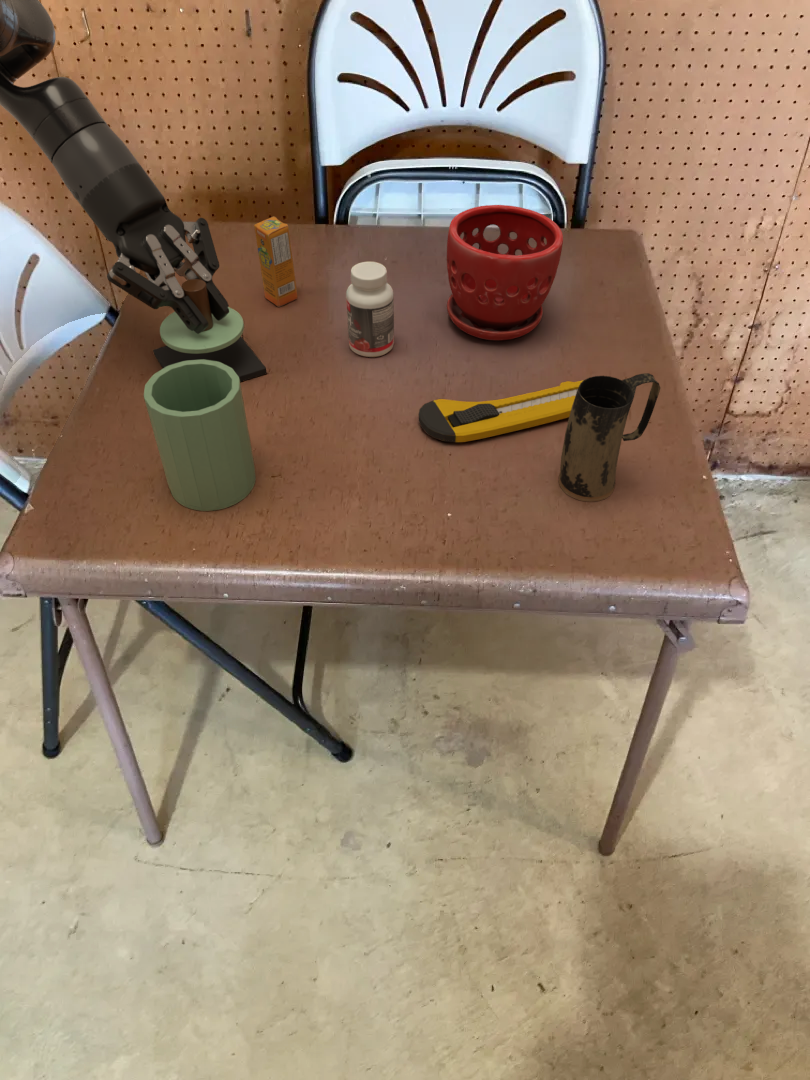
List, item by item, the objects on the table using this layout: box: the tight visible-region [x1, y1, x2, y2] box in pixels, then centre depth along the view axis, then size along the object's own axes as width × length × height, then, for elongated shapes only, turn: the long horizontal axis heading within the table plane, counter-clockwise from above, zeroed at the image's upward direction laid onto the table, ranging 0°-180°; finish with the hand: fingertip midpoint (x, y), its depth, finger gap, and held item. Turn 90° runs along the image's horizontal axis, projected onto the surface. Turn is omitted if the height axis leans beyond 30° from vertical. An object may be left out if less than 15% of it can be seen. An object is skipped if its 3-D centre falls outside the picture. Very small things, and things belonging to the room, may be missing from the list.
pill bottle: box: [345, 261, 395, 358], centre depth 96 cm, size 5×5×10 cm
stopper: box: [159, 279, 245, 354], centre depth 92 cm, size 9×9×6 cm
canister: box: [143, 359, 257, 512], centre depth 79 cm, size 8×8×12 cm
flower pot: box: [446, 204, 564, 341], centre depth 99 cm, size 13×13×12 cm
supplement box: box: [253, 216, 299, 308], centre depth 103 cm, size 3×3×10 cm
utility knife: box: [418, 379, 585, 443], centre depth 91 cm, size 7×22×2 cm, turn 111°
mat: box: [152, 336, 268, 383], centre depth 97 cm, size 10×10×1 cm
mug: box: [558, 372, 661, 503], centre depth 79 cm, size 8×6×12 cm
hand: (213, 322), depth 92 cm, fingers closed on stopper, 2 cm apart
